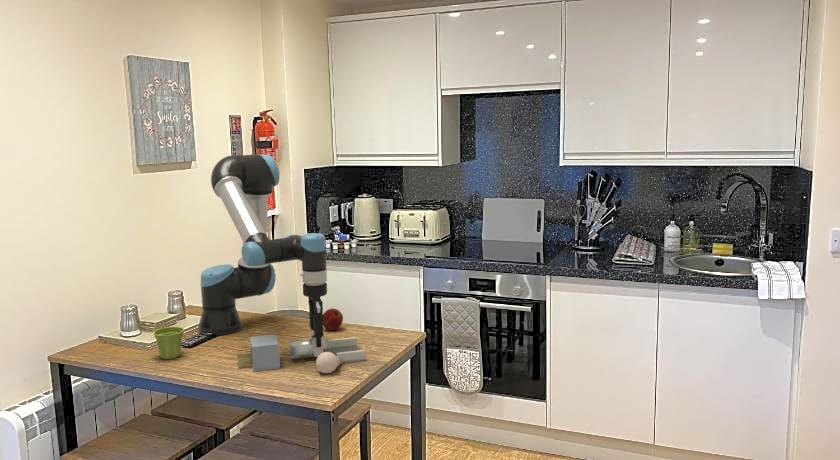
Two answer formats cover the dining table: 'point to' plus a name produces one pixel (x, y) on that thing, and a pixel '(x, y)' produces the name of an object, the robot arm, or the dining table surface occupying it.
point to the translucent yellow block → (245, 360)
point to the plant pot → (169, 341)
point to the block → (265, 352)
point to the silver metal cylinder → (305, 347)
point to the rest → (347, 350)
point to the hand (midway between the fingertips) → (317, 352)
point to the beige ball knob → (327, 362)
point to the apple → (332, 319)
